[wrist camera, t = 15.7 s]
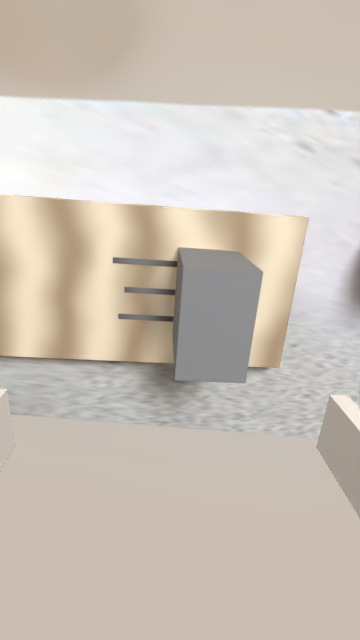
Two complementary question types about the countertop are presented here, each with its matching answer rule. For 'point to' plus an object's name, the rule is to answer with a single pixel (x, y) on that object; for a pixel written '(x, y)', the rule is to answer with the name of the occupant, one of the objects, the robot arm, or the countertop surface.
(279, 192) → the countertop surface
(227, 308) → the block
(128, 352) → the board
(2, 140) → the countertop surface
